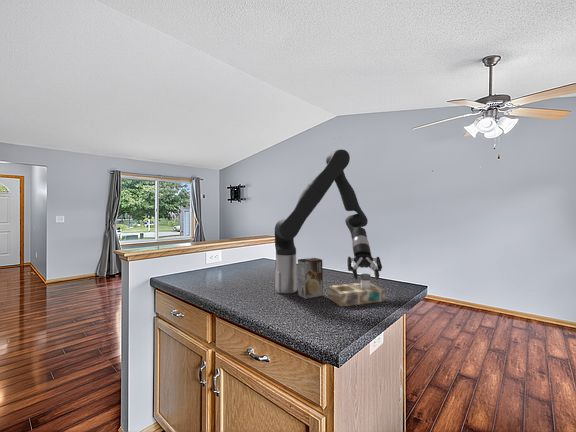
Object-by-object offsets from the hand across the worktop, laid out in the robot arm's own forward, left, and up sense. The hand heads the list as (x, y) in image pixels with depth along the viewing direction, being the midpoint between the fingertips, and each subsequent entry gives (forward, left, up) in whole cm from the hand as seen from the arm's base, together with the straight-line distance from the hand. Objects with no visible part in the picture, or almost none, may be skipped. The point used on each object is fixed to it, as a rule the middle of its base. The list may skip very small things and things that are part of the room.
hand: (366, 278), depth 121 cm
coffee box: (-21, +12, -9) cm, 26 cm away
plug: (0, +1, -9) cm, 9 cm away
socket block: (-5, +1, -9) cm, 10 cm away
